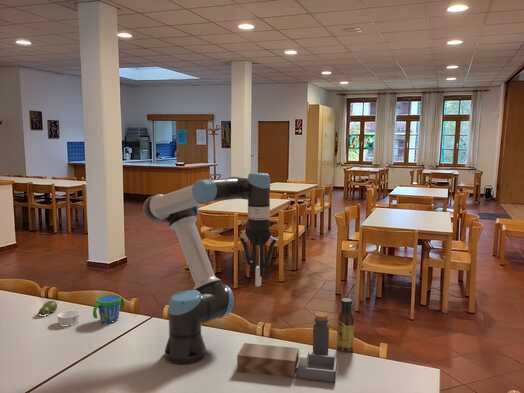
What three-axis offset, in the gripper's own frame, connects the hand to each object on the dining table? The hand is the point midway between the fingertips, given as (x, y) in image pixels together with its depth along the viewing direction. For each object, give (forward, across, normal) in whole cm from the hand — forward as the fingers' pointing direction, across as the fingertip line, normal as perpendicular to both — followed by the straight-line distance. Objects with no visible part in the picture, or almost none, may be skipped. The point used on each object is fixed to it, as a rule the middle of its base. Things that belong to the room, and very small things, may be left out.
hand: (258, 285), depth 160 cm
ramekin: (+30, -89, +20) cm, 96 cm away
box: (+29, +21, -1) cm, 36 cm away
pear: (+30, -105, +28) cm, 113 cm away
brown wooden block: (+29, +4, -1) cm, 30 cm away
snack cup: (+30, -73, +27) cm, 83 cm away
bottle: (+30, +21, +15) cm, 39 cm away
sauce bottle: (+30, +30, +20) cm, 47 cm away
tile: (+26, +15, -1) cm, 30 cm away
